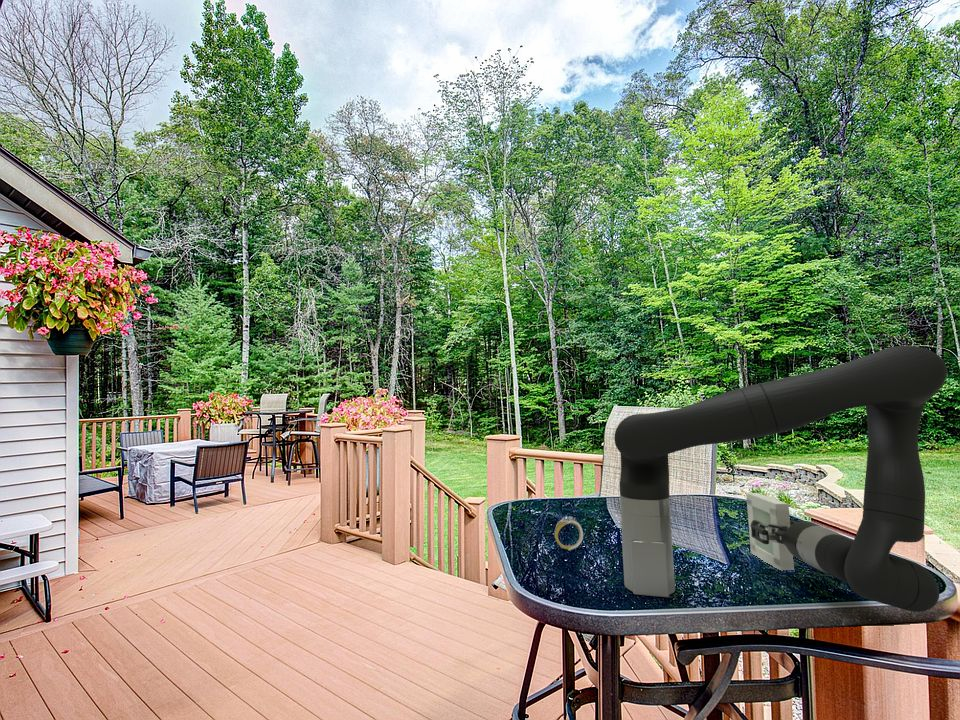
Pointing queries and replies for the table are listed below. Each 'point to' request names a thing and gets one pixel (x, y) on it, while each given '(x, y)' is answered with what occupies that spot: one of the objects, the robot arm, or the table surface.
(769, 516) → the frame
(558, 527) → the bracelet
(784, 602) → the table surface
